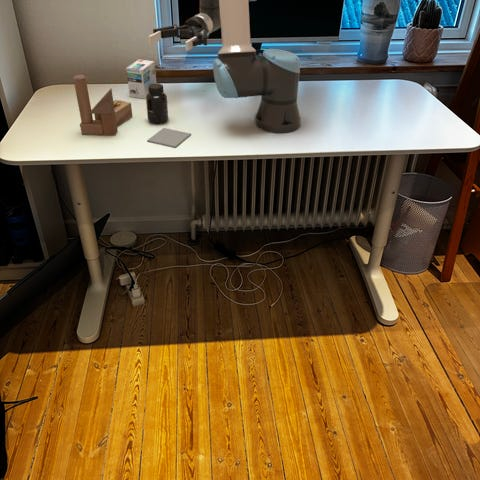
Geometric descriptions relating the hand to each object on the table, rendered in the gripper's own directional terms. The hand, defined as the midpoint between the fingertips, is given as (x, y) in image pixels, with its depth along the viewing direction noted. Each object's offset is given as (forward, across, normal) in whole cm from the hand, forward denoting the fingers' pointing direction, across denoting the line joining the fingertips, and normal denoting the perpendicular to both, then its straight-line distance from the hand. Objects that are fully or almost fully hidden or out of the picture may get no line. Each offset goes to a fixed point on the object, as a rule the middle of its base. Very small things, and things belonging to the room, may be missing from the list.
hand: (167, 43), depth 161 cm
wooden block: (+26, +12, -22) cm, 36 cm away
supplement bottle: (+10, 0, -23) cm, 25 cm away
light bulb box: (-9, +18, -23) cm, 30 cm away
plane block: (+17, +12, -22) cm, 31 cm away
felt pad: (+20, -10, -22) cm, 32 cm away
